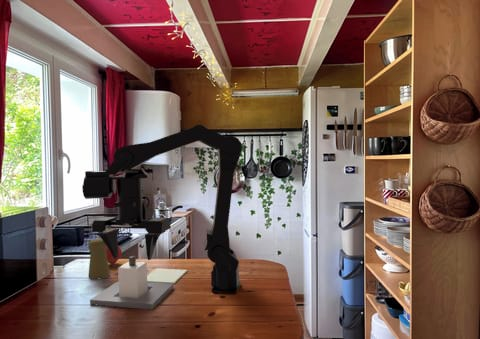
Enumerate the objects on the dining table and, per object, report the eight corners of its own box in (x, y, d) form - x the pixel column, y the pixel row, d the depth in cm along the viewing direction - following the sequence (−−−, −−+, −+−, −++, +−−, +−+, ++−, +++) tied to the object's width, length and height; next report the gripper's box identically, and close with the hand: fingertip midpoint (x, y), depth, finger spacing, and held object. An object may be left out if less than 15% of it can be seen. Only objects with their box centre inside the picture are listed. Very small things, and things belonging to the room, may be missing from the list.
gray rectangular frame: (173, 288, 88) (173, 283, 88) (152, 309, 76) (152, 304, 76) (118, 285, 91) (118, 280, 91) (90, 304, 79) (90, 299, 79)
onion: (99, 266, 107) (98, 242, 107) (110, 261, 113) (109, 237, 112) (114, 267, 106) (113, 242, 105) (125, 262, 111) (124, 238, 111)
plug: (147, 292, 86) (146, 254, 85) (137, 301, 81) (136, 260, 80) (130, 291, 87) (128, 253, 86) (119, 300, 82) (117, 259, 81)
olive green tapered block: (113, 272, 102) (112, 236, 101) (103, 279, 96) (102, 241, 95) (95, 272, 102) (93, 236, 102) (83, 279, 96) (82, 241, 96)
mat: (187, 271, 101) (187, 269, 101) (174, 283, 91) (174, 282, 91) (156, 269, 103) (156, 268, 103) (140, 281, 93) (140, 280, 93)
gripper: (177, 192, 89) (180, 250, 89) (114, 193, 92) (117, 248, 93) (159, 198, 78) (162, 264, 78) (88, 198, 81) (91, 261, 82)
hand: (132, 258), depth 83 cm, fingers open, 9 cm apart
